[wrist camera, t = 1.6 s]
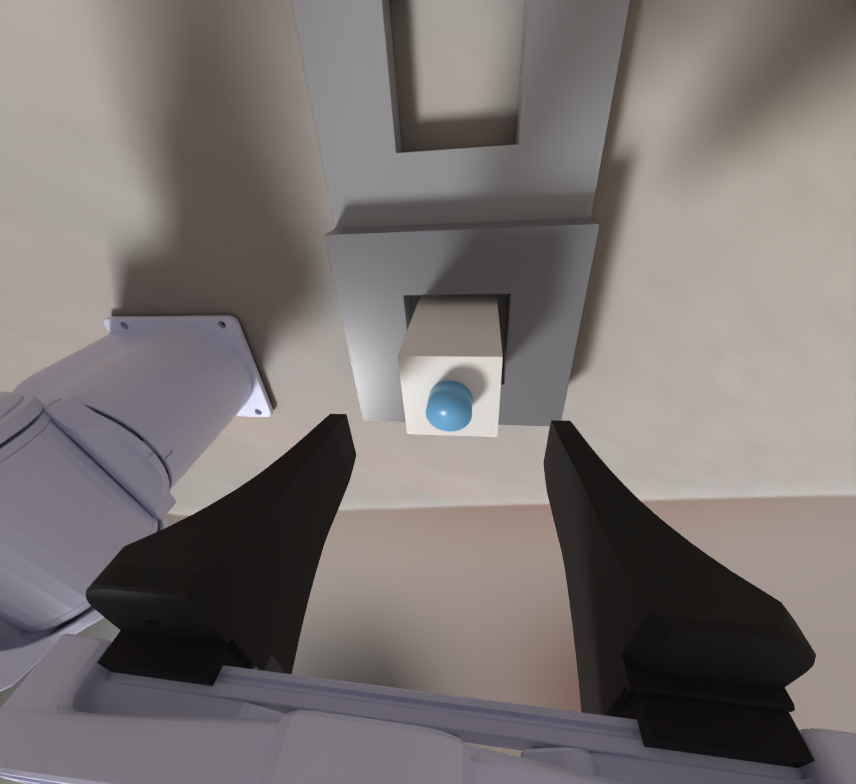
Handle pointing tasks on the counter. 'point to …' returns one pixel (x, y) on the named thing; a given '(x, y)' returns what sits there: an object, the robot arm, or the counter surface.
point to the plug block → (452, 366)
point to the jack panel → (463, 197)
